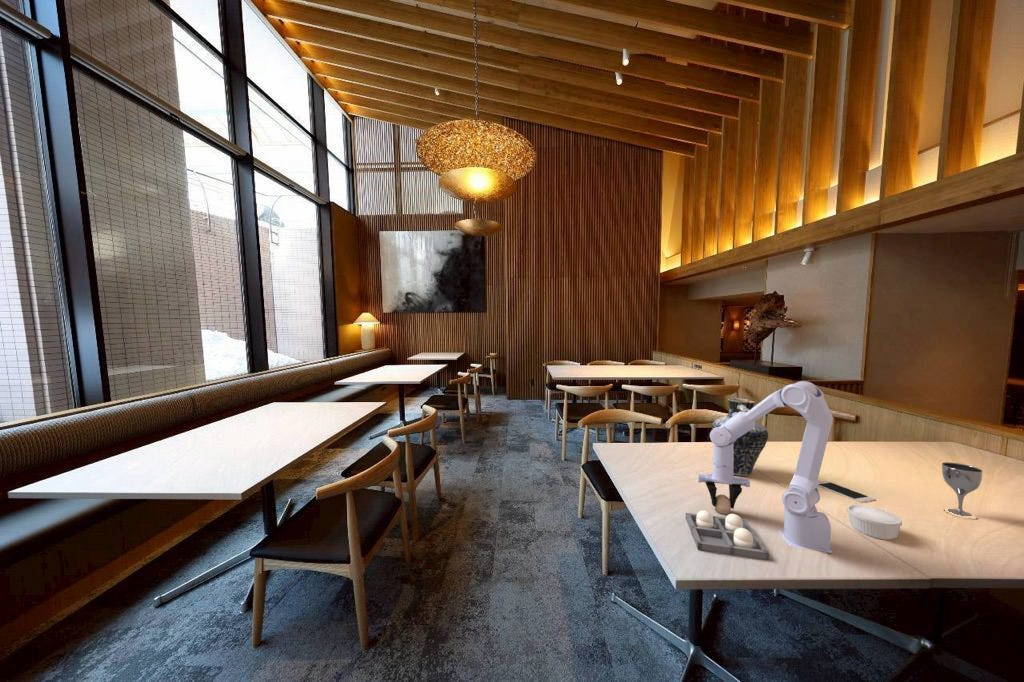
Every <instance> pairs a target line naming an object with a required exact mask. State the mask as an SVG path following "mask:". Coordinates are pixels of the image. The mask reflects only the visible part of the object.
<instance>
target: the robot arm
mask: <svg viewBox="0 0 1024 682" xmlns="http://www.w3.org/2000/svg"><path fill="white" fill-rule="evenodd" d="M788 406H789V407H790V409H791V408H792V409H793V410H794V411H796V412H798V413H799V415H801V417H802V418H804V419H805V421H806V424H805V430H804V432H803V437H802V441H801V445H800V450H799V454H798V457H797V461H796V467H795V470H794V474H793V477H792V479H791V481H790V483H789V485H788V488H787V490H785V491H784V492H783V493H782V496H781V500H782V504H783V505H784V509H783V510H784V511H783V513H784V515H783V530H777V532H778V533H779V535H780V536H781V537H782V538H783V540H784V541H785V543H786V544H788V545H789V547H792V548H798V549H807V550H814V551H822V552H825V553H826V554H827V553H828V554H832V553H833V551H832V550H831V542H832V541H831V539H832V538H831V535H832V533H831V532H832V528H831V522H830V519H829V518H828V515H826V514H825V512H822V511H818V509H817V507H816V504H818V503H819V502H820V500H821V494H820V492H819V486H818V485H819V482H820V481H819V480H818V479H819V476H820V472H821V468H822V463H823V460H824V456H825V451H826V448H827V443H828V440H829V435H830V432H831V428H832V425H833V421H834V417H833V414H832V412H831V409H830V408H829V406H828V404H827V401H826V398H825V394H824V392H823V391H822V390H821V389H820V388H819V387H818V386H817V385H815V384H814V383H812V382H810V381H806V380H801V381H797V382H795V383H791V384H788V385H785V386H784V387H782V388H781V389H779V390H776V391H774V392H772V393H770V394H769V395H768V396H766V397H765V398H764V399H763V400H761V401H760V402H758V404H756V405H755V406H753V408H752V409H751V410H749V411H748V412H738V413H737V412H735V413H733V414H732V416H733V417H731V418H730V419H729V420H727V421H726V422H724V421H723V422H721V423H720V424H721V426H720V427H716V428H713V430H712V429H711V431H710V432H709V438H710V441H711V443H712V473H710V474H709V473H706V474H705V473H703V474H700V473H697V475H696V480H697V482H698V483H705V485H706V488H707V490H708V493H709V495H710V499H711V505H712V507H714V508H715V507H716V496H717V490H718V489H717V487H716V484H722V485H728V492H729V493H728V494H729V496H728V498H729V499H730V502H731V510H732V509H734V507H735V504H736V501H737V500H738V497H739V496H740V495H741V494H742V493H743V492H742V491H743V487H746V488H751V484H750V483H751V481H750V479H748V478H742V477H739V476H734V474H733V467H734V466H733V464H734V451H733V446H734V442H735V441H736V440H737V438H739V437H741V436H742V435H744V434H745V433H747V432H748V431H750V430H751V429H753V428H754V427H755V422H757V420H760V419H762V417H764V416H766V415H767V414H768V413H770V412H772V411H774V410H775V409H776V408H785V407H788Z"/></svg>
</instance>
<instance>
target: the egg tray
mask: <svg viewBox="0 0 1024 682" xmlns="http://www.w3.org/2000/svg"><path fill="white" fill-rule="evenodd" d="M696 516H697V513H690V512H686V513H685V520H686V523H687V525H688V528H689V530H690V533H691V536H692V538H693V539H692V540H693V541H694V544H695V547H696V549H697V550H698V551H703V552H709V553H717V554H722V555H723V554H724V555H731V556H737V557H744V558H749V559H751V558H752V559H756V560H765V561H769V556H770V554H769V551H768V550H767V549H766V547H765V546H764V545H763V542H762V541H761V540H760V538H759V537H758V535H757V534H756V533H755V531H754V530H753V528H752V527H751V525H750V524H749V523H748V521H747V519H742V521H743V528H745V529H747V530H748V531H750V533H751V534H752V536H753V549H752V548H744V547H737V546H734V531H727V530H725V518H726V516H725V517H724V516H715V515H712V517H713V529H712V528H704V527H697V526H696Z"/></svg>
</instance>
